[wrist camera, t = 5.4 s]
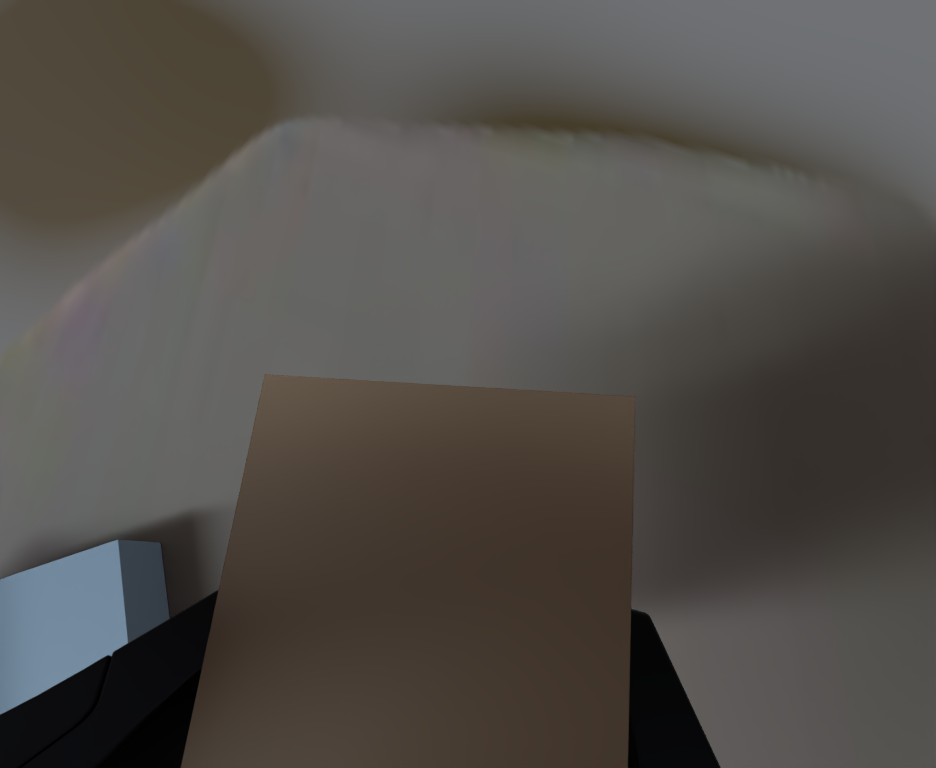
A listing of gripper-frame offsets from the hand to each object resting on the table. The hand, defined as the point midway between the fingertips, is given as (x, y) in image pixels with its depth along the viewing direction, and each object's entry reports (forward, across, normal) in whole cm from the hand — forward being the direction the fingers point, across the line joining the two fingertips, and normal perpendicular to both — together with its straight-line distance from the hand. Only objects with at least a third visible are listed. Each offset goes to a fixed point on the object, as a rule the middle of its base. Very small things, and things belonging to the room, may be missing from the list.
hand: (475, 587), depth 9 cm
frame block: (+4, 0, +6) cm, 7 cm away
